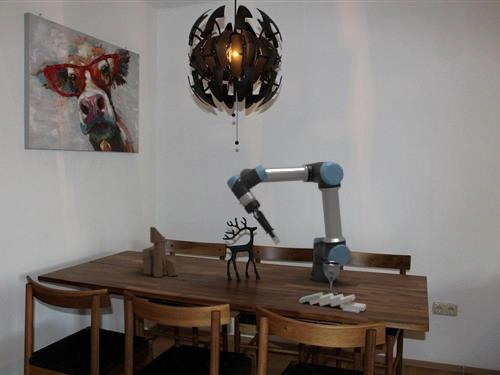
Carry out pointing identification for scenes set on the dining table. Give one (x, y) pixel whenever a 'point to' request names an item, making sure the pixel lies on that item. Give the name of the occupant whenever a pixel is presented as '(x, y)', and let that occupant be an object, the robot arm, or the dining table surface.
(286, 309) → the dining table surface
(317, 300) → the domino
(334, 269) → the wine glass
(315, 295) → the domino
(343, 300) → the domino
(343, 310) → the coaster
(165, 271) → the wooden blocks
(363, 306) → the domino
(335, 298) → the domino
